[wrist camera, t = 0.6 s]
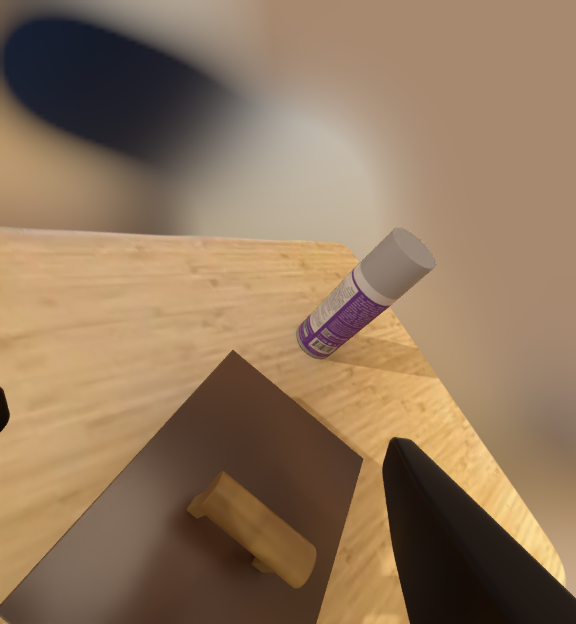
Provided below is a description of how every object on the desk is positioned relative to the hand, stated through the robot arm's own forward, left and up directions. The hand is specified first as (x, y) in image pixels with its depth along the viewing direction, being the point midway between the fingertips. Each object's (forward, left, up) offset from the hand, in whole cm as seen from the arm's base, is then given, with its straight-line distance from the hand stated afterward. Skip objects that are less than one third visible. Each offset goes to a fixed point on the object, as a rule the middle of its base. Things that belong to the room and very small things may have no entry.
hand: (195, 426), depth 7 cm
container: (+20, -10, -17) cm, 29 cm away
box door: (+1, -5, -11) cm, 12 cm away
